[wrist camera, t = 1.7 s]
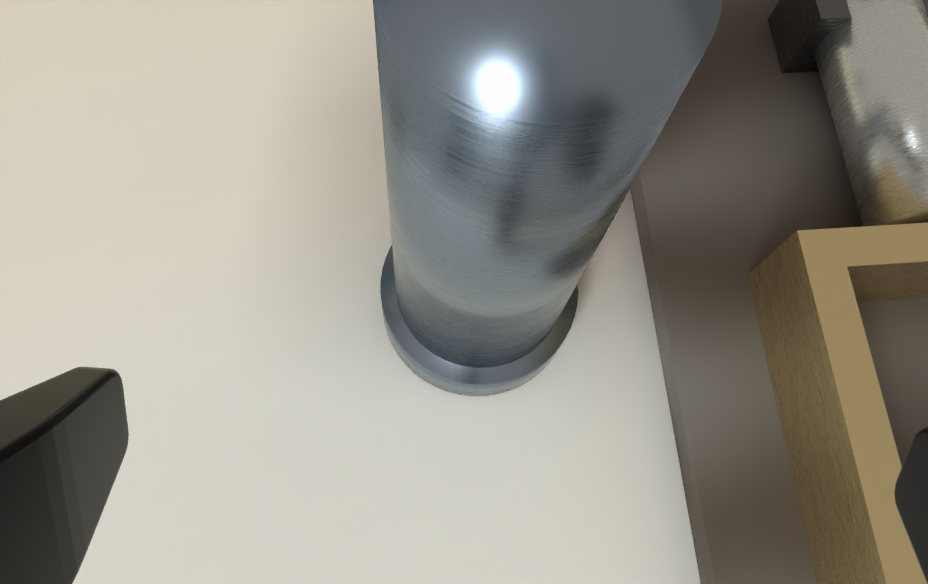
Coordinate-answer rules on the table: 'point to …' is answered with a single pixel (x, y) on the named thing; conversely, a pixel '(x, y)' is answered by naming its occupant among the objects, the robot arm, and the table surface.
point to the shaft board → (729, 295)
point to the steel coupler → (514, 165)
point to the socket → (850, 281)
